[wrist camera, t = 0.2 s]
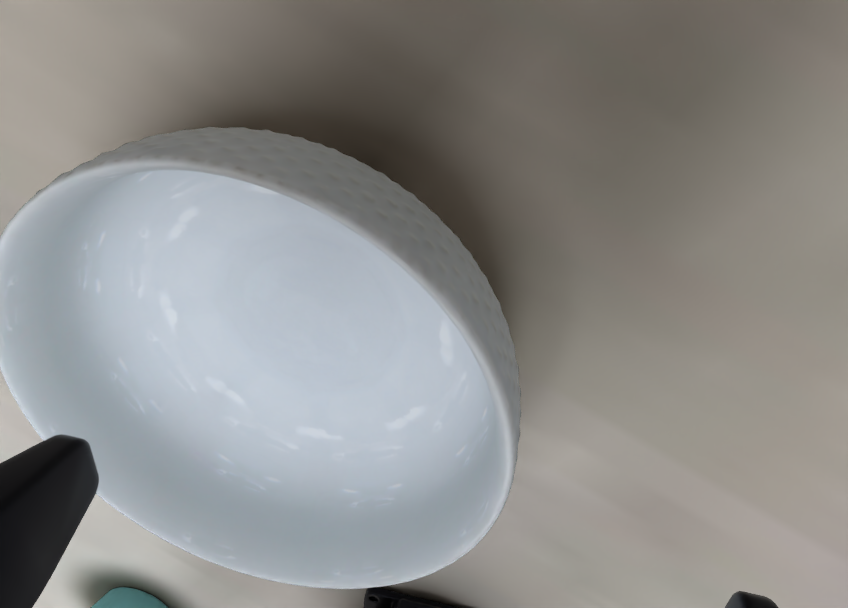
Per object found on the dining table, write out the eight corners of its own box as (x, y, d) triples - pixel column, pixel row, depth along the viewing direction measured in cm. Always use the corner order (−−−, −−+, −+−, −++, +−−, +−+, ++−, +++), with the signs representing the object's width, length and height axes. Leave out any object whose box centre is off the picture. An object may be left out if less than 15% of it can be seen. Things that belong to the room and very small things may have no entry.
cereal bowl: (33, 188, 25) (-131, 281, 20) (399, -17, 19) (314, 31, 13) (271, 485, 32) (202, 618, 27) (599, 413, 26) (603, 570, 20)
